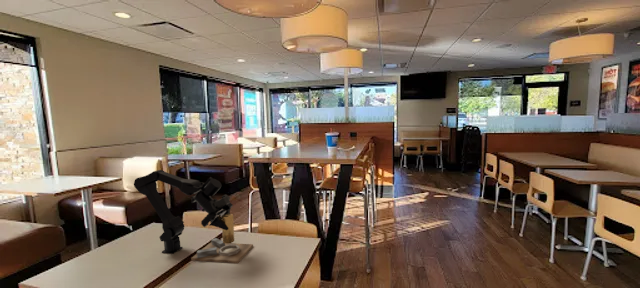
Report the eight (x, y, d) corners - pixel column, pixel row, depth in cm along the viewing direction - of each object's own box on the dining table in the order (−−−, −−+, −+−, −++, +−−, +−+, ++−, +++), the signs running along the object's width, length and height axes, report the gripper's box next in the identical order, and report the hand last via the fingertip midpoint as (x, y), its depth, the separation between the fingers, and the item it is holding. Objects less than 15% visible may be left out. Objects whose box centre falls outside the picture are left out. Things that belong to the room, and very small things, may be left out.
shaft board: (191, 260, 123) (190, 252, 122) (211, 244, 138) (210, 237, 138) (238, 263, 119) (237, 255, 119) (253, 246, 135) (252, 239, 134)
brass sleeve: (222, 244, 124) (220, 217, 123) (223, 239, 129) (222, 214, 128) (233, 242, 125) (232, 216, 124) (234, 238, 130) (233, 213, 129)
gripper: (206, 196, 117) (231, 223, 116) (228, 185, 135) (250, 208, 134) (190, 213, 119) (215, 240, 118) (214, 201, 137) (236, 224, 136)
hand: (230, 227), depth 127 cm, fingers closed on brass sleeve, 5 cm apart
